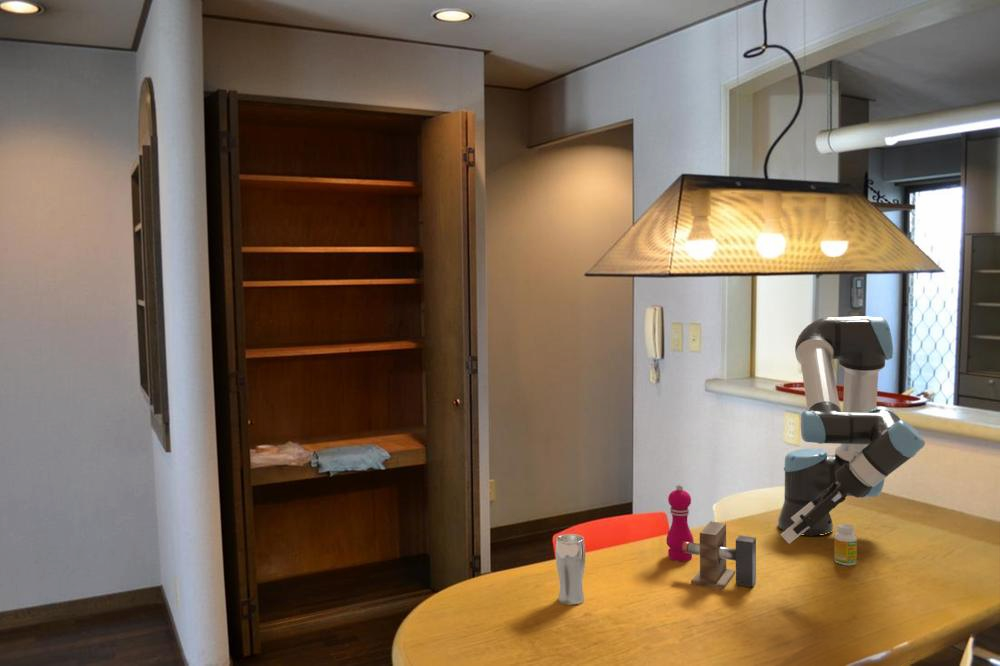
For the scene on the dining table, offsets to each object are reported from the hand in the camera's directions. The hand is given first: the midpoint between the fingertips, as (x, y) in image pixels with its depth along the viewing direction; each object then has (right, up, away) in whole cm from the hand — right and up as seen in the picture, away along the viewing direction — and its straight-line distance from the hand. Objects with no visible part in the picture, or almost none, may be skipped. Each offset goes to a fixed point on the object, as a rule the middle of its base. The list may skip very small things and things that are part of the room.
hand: (790, 530), depth 187 cm
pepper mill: (-20, -14, +26) cm, 36 cm away
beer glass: (-52, -17, 0) cm, 55 cm away
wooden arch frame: (-15, -15, +10) cm, 24 cm away
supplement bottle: (+22, -13, +19) cm, 32 cm away
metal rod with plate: (-14, -14, +10) cm, 22 cm away
